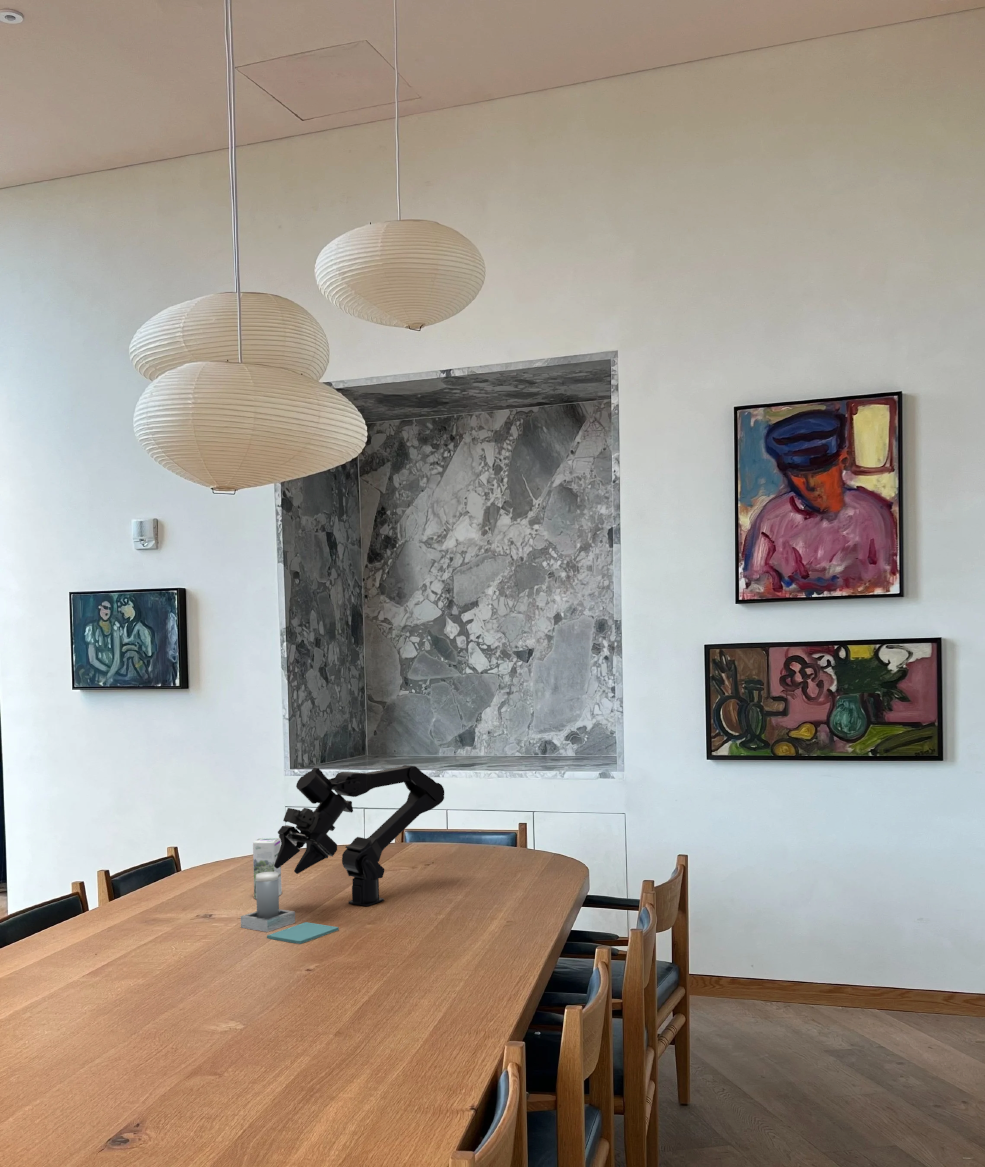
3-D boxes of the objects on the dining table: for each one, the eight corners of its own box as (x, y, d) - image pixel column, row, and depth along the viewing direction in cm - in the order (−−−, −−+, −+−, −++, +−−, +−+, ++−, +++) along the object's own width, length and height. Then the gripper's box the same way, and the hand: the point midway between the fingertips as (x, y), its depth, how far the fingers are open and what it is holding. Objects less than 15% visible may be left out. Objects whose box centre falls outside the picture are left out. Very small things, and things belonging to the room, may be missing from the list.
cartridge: (268, 921, 231) (267, 870, 232) (283, 923, 228) (282, 872, 229) (252, 926, 227) (251, 875, 227) (267, 929, 224) (266, 877, 225)
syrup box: (282, 893, 258) (281, 837, 259) (275, 899, 252) (273, 841, 253) (261, 894, 259) (260, 837, 260) (253, 899, 253) (252, 841, 254)
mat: (306, 924, 226) (305, 922, 226) (338, 930, 221) (338, 927, 221) (266, 938, 216) (266, 935, 216) (300, 944, 211) (300, 941, 211)
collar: (268, 918, 233) (268, 907, 233) (295, 922, 228) (294, 911, 229) (240, 927, 226) (240, 916, 226) (267, 931, 221) (267, 920, 221)
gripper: (284, 791, 243) (243, 844, 235) (325, 797, 229) (283, 853, 221) (312, 820, 248) (274, 872, 239) (354, 827, 234) (314, 883, 226)
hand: (285, 870), depth 231 cm, fingers open, 9 cm apart
